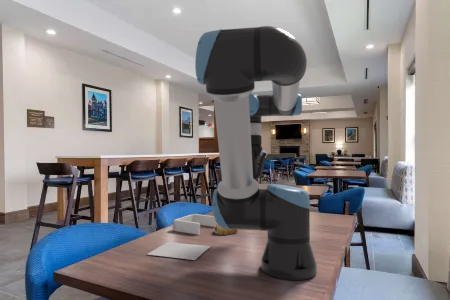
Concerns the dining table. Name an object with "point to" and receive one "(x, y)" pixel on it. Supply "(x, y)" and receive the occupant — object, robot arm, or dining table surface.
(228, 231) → the pastry
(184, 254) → the paper stack
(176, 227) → the box
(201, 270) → the dining table surface
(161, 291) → the dining table surface
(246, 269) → the dining table surface
